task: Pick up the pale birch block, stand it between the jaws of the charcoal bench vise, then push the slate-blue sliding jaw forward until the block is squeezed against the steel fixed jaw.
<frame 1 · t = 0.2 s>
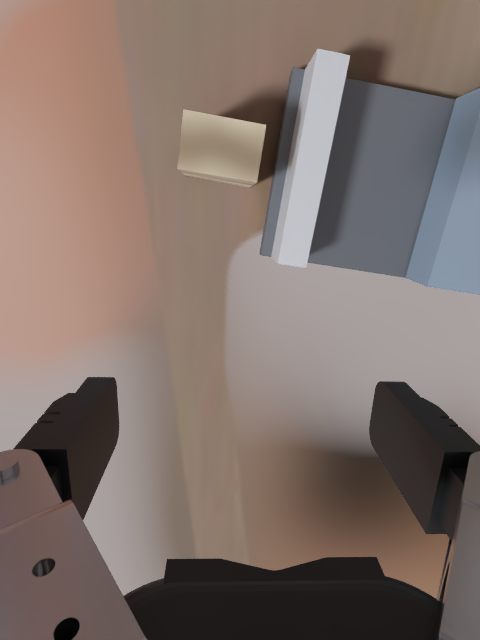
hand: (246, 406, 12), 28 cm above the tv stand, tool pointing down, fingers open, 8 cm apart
birch block: (221, 159, 36), on the tv stand
vise: (395, 190, 37), on the tv stand
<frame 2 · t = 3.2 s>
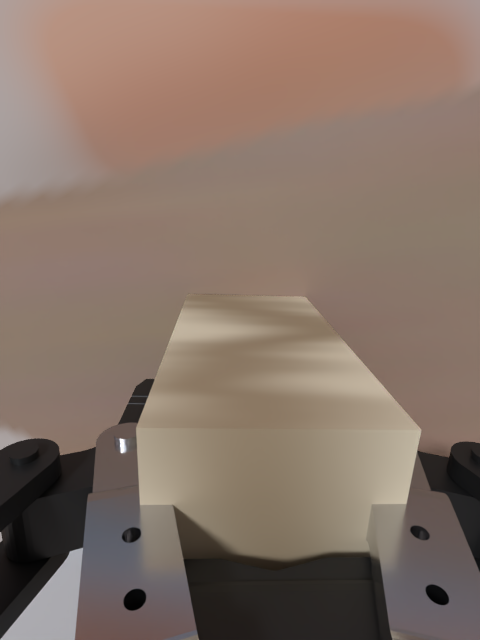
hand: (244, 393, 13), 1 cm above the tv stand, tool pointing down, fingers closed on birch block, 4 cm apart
birch block: (243, 375, 14), on the tv stand, touching gripper
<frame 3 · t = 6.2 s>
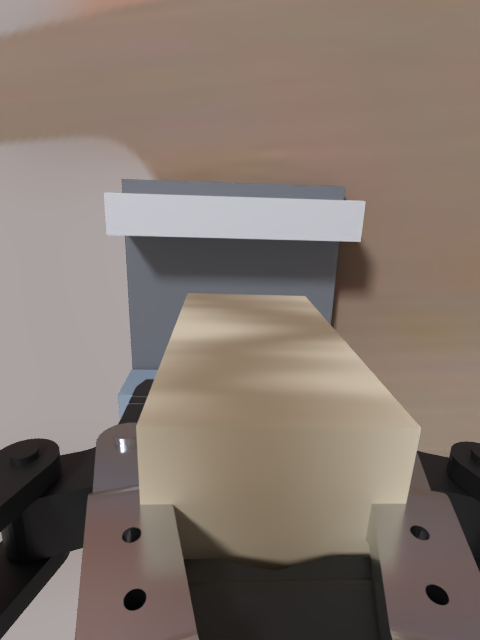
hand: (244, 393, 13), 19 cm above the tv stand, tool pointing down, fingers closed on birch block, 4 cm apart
birch block: (243, 375, 14), point 18 cm above the tv stand, touching gripper
vise: (230, 334, 32), on the tv stand
vise jaw: (229, 424, 30), point 4 cm above the tv stand, slide at 0.0 cm
when the fingers open (4 cm above the tv stand, at t = 9.3 s): birch block drops 1 cm, resting on vise.
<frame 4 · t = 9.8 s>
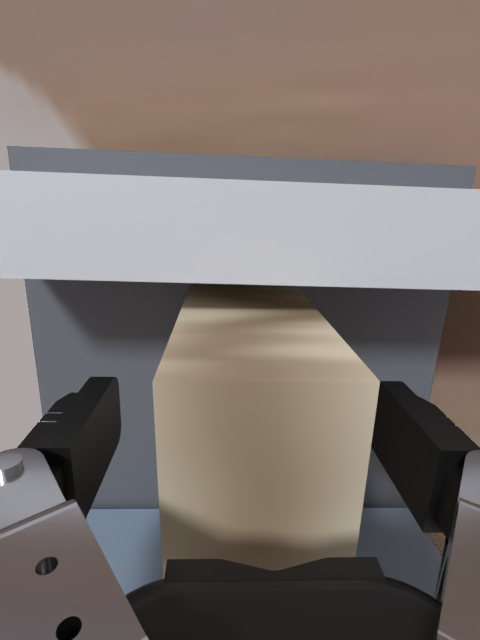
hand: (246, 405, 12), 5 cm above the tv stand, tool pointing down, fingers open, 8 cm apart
birch block: (242, 359, 15), point 1 cm above the tv stand, touching vise
vise: (236, 435, 18), on the tv stand
vise jaw: (234, 618, 16), point 4 cm above the tv stand, slide at 0.0 cm
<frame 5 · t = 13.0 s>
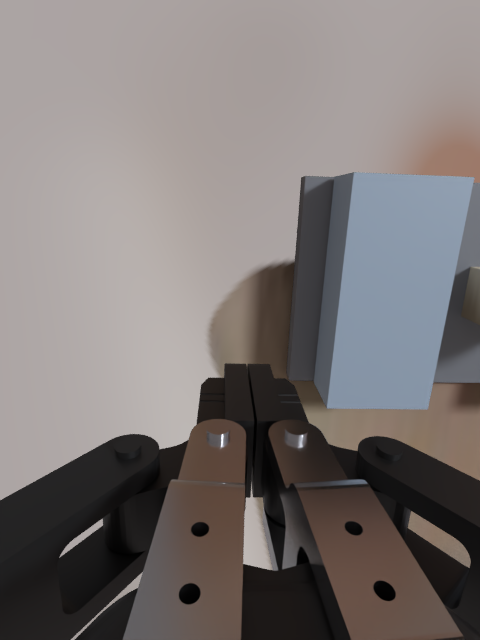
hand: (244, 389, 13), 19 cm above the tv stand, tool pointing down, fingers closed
vise: (437, 286, 32), on the tv stand
vise jaw: (381, 295, 27), point 4 cm above the tv stand, slide at 0.0 cm
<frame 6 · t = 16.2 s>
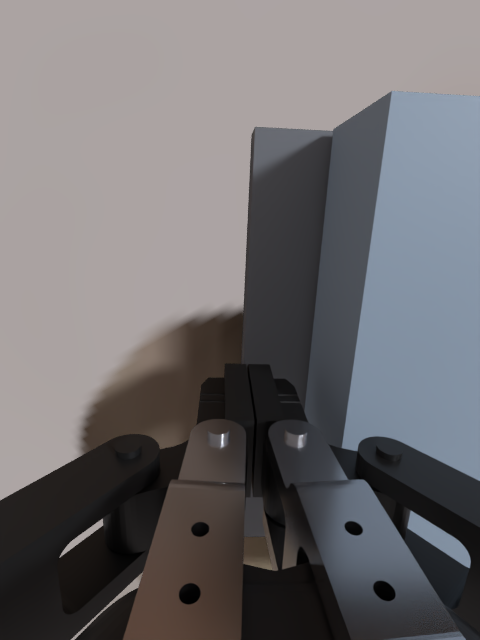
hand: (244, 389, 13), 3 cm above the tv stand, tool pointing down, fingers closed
vise jaw: (439, 401, 12), point 4 cm above the tv stand, slide at 0.4 cm, touching gripper
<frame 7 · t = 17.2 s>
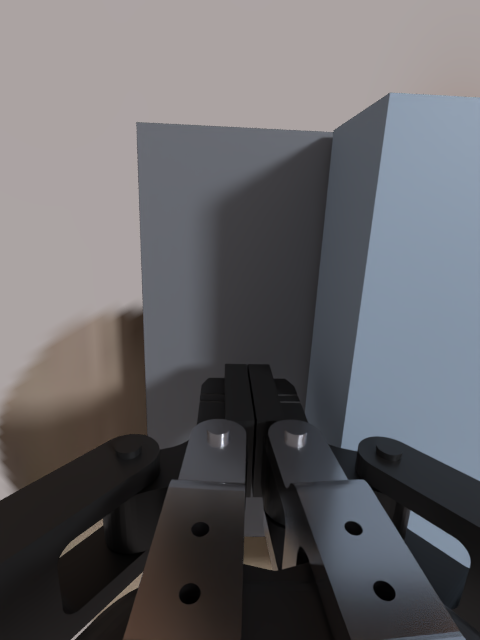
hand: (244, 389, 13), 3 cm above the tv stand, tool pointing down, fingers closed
vise: (442, 356, 16), on the tv stand
vise jaw: (439, 402, 12), point 4 cm above the tv stand, slide at 4.0 cm, touching birch block, gripper
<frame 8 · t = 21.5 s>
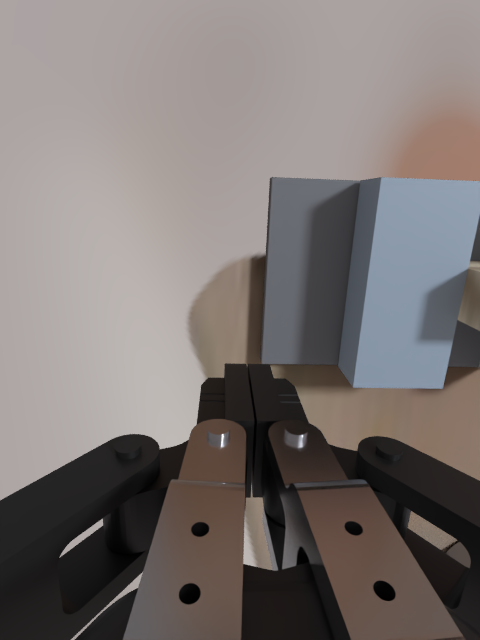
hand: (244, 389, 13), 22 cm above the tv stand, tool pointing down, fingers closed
birch block: (465, 283, 33), point 1 cm above the tv stand, touching vise
vise: (396, 277, 35), on the tv stand
vise jaw: (402, 286, 31), point 4 cm above the tv stand, slide at 5.0 cm
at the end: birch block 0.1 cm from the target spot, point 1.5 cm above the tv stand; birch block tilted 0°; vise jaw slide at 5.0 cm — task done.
